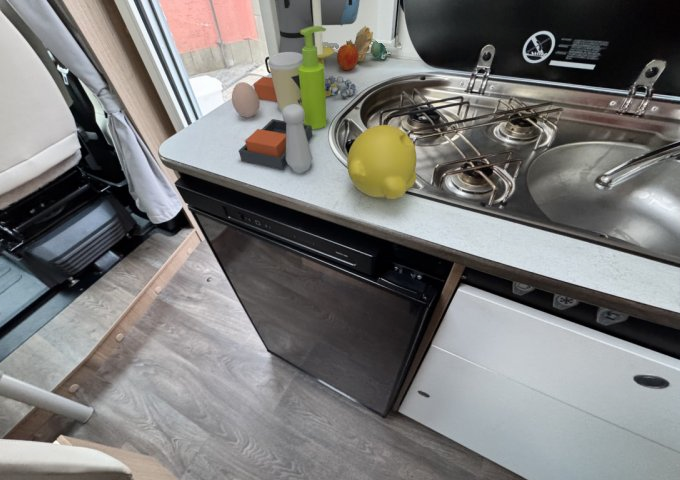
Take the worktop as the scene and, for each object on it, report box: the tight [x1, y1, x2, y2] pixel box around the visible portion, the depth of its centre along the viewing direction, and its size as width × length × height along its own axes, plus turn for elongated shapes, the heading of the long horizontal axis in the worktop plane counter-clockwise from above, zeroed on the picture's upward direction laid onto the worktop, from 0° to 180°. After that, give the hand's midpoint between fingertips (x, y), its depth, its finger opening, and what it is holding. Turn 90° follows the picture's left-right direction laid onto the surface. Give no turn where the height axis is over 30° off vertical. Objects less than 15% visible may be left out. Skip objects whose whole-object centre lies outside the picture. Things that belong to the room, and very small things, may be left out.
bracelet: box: [324, 75, 357, 98], centre depth 87 cm, size 10×10×2 cm
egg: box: [231, 81, 261, 118], centre depth 79 cm, size 7×7×8 cm
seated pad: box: [244, 128, 286, 157], centre depth 67 cm, size 6×8×4 cm
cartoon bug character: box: [346, 25, 392, 62], centre depth 101 cm, size 10×18×15 cm
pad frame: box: [238, 118, 313, 171], centre depth 70 cm, size 16×11×3 cm
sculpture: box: [346, 124, 418, 200], centre depth 55 cm, size 15×13×13 cm
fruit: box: [336, 40, 359, 72], centre depth 96 cm, size 7×7×8 cm
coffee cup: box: [267, 52, 303, 112], centre depth 80 cm, size 9×9×12 cm
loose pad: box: [253, 76, 277, 102], centre depth 88 cm, size 6×8×4 cm
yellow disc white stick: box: [312, 0, 339, 98], centre depth 79 cm, size 10×10×27 cm
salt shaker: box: [281, 104, 313, 174], centre depth 61 cm, size 6×6×13 cm
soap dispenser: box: [298, 26, 328, 130], centre depth 70 cm, size 6×7×20 cm
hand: (318, 5), depth 63 cm, fingers open, 13 cm apart
